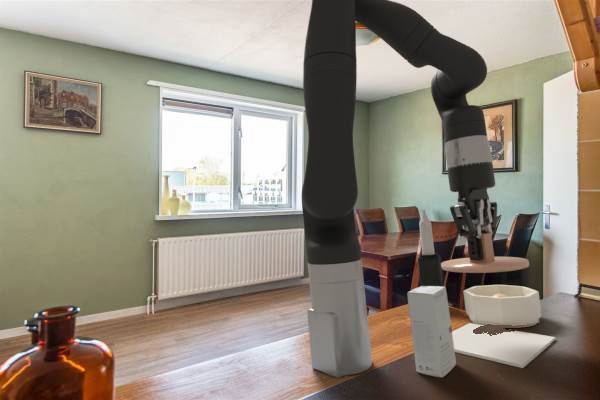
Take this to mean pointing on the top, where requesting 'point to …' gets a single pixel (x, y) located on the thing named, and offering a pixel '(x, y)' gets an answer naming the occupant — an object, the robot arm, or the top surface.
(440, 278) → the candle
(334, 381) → the top surface
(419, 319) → the skincare box
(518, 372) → the top surface
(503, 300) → the bowl
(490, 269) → the lid
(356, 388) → the top surface
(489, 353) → the mat
